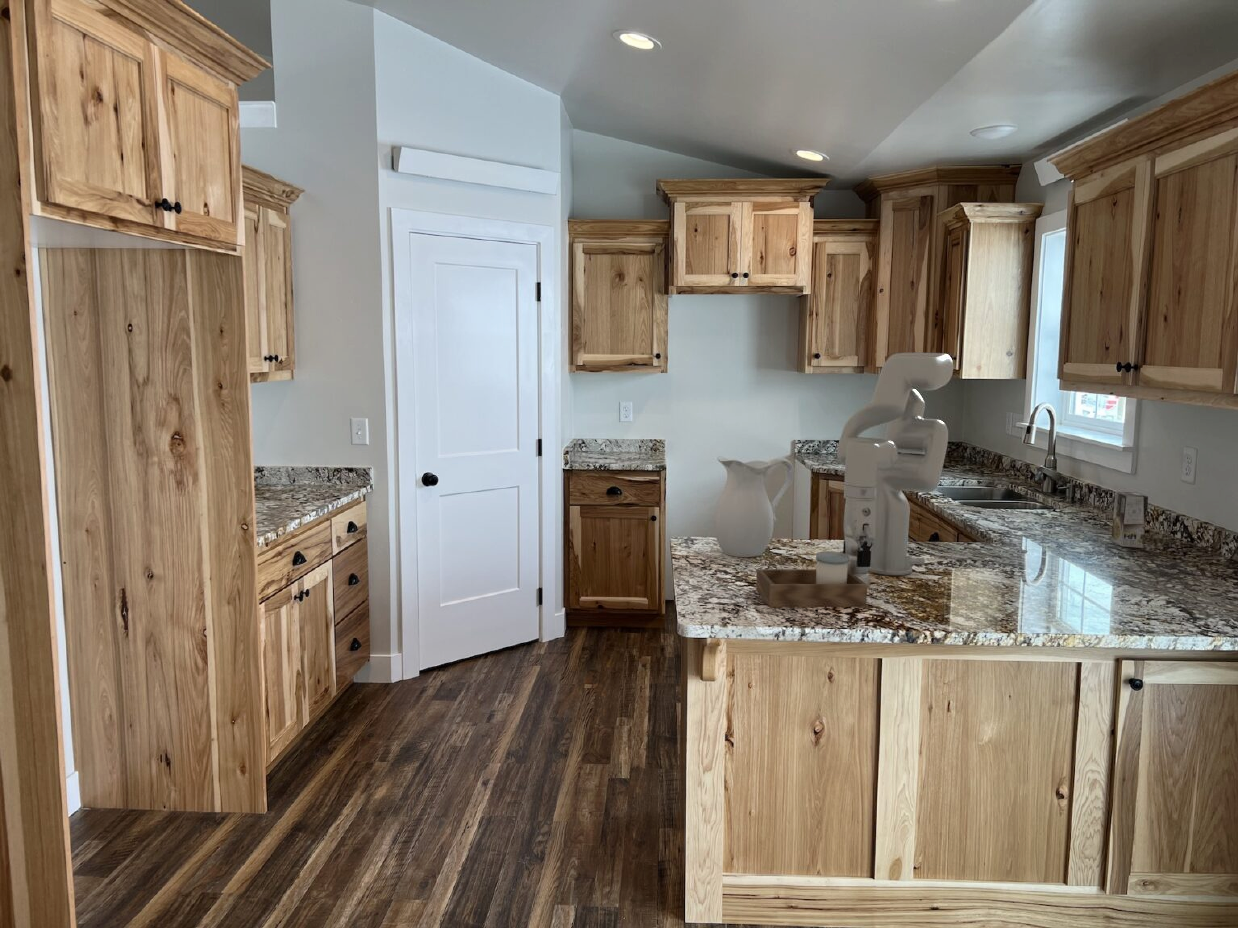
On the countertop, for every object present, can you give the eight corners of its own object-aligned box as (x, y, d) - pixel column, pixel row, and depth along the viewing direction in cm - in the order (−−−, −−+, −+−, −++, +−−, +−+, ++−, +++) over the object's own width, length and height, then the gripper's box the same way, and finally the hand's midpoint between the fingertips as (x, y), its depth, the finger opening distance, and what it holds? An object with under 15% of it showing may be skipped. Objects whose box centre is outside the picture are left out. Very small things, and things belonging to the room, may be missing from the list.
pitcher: (726, 561, 234) (729, 461, 230) (704, 547, 250) (707, 454, 246) (804, 557, 240) (809, 460, 236) (778, 544, 256) (781, 453, 252)
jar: (840, 593, 201) (842, 551, 199) (851, 602, 193) (853, 558, 192) (810, 593, 200) (812, 551, 199) (819, 602, 193) (821, 558, 191)
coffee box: (1144, 548, 259) (1149, 496, 257) (1121, 546, 260) (1126, 495, 258) (1132, 541, 268) (1137, 491, 266) (1110, 540, 269) (1115, 490, 267)
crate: (845, 593, 204) (846, 569, 203) (866, 610, 190) (867, 585, 189) (755, 593, 203) (756, 569, 202) (770, 611, 189) (771, 585, 188)
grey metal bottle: (847, 585, 211) (851, 507, 208) (873, 590, 207) (877, 510, 204) (836, 591, 206) (840, 510, 203) (862, 596, 202) (867, 514, 199)
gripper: (889, 498, 195) (884, 570, 197) (862, 486, 212) (858, 553, 214) (857, 498, 194) (853, 570, 196) (833, 486, 211) (830, 553, 214)
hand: (856, 561), depth 205 cm, fingers open, 9 cm apart
